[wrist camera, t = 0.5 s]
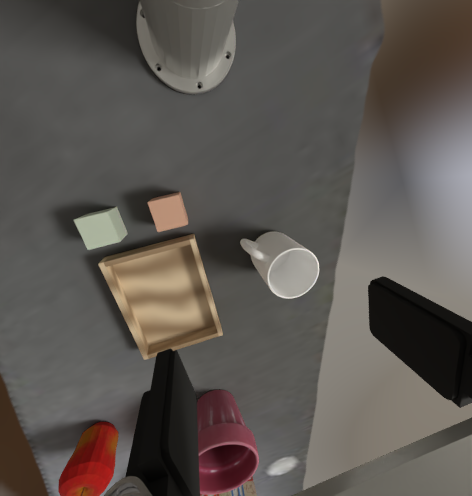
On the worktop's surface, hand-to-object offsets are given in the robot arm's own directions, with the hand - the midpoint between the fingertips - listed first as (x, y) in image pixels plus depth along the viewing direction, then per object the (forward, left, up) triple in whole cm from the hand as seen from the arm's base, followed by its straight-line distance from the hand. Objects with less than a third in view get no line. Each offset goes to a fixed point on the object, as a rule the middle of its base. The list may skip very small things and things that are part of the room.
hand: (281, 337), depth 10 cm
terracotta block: (-3, -6, -31) cm, 31 cm away
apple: (+39, -34, -31) cm, 61 cm away
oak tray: (+12, -11, -30) cm, 35 cm away
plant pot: (+43, -10, -31) cm, 54 cm away
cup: (+8, +8, -31) cm, 33 cm away
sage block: (-3, -16, -31) cm, 35 cm away
